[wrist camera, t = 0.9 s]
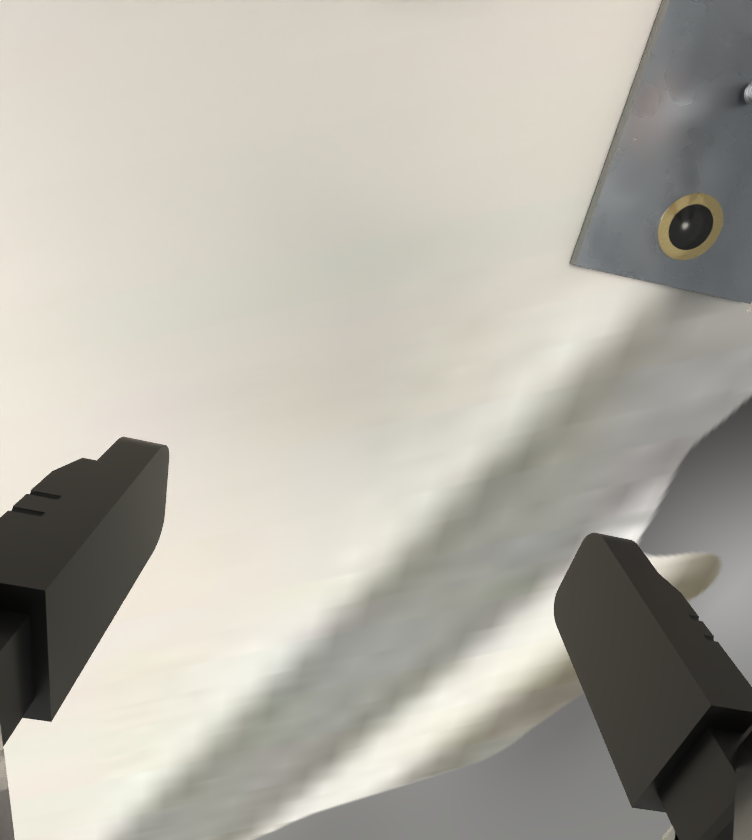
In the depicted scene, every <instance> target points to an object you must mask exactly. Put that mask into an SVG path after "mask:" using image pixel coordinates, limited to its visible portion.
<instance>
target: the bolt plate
mask: <svg viewBox="0 0 752 840" xmlns="http://www.w3.org/2000/svg"><path fill="white" fill-rule="evenodd" d="M751 82H752V0H662V3H661V5H660V8H659V11H658V14H657V17H656V20H655V23H654V25H653V28H652V31H651V34H650V37H649V40H648V42H647V45H646V48H645V51H644V54H643V57H642V59H641V62H640V65H639V68H638V71H637V74H636V76H635V79H634V82H633V85H632V88H631V91H630V93H629V96H628V99H627V102H626V105H625V108H624V111H623V113H622V116H621V119H620V122H619V125H618V128H617V130H616V133H615V136H614V139H613V142H612V145H611V147H610V150H609V153H608V156H607V159H606V162H605V164H604V167H603V170H602V173H601V176H600V179H599V181H598V184H597V187H596V190H595V193H594V196H593V198H592V201H591V204H590V207H589V210H588V213H587V216H586V218H585V221H584V224H583V227H582V230H581V233H580V235H579V238H578V241H577V244H576V247H575V250H574V252H573V255H572V258H571V261H570V264H573V265H575V266H579V267H584V268H589V269H593V270H598V271H602V272H607V273H611V274H616V275H621V276H625V277H630V278H634V279H639V280H644V281H648V282H653V283H657V284H662V285H666V286H671V287H676V288H680V289H685V290H689V291H694V292H699V293H703V294H708V295H712V296H717V297H721V298H726V299H731V300H735V301H740V302H744V303H749V304H750V306H749V308H748V310H747V312H750V313H752V105H750V104H748V103H747V102H746V101H745V98H744V93H745V90H746V88H747V86H748V85H749V83H751Z"/></svg>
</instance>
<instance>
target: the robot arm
mask: <svg viewBox="0 0 752 840" xmlns="http://www.w3.org/2000/svg"><path fill="white" fill-rule="evenodd" d="M168 465H169V449H168V447H167V446H166V445H162V444H157V443H152V442H147V441H142V440H137V439H132V438H127V437H121V438H119V439H118V440H117V441H116V442H115V443H114V444H113V445H112V446H111V447H110V448H109V449H108V450H107V451H106V452H105V453H104V454H103V455H102V456H101V457H100V458H99V459H98V460H97V461H96V460H91V459H85V458H81V459H79V460H77V461H74V462H72V463H70V464H68V465H65V466H63V467H61V468H58V469H56V470H54V471H52V472H51V473H50V474H49V475H47V476H46V477H45V478H44V479H43V480H42V481H41V482H40V483H39V484H37V485H36V486H35V487H34V488H33V489H32V490H31V493H30V495H29V494H26V495H25V496H24V497H23V498H22V499H21V500H20V501H18V502H17V503H16V504H15V505H14V506H13V509H12V511H7V512H6V513H5V514H4V515H3V516H2V517H0V840H15V839H14V830H13V822H12V814H11V806H10V797H9V789H8V781H7V772H6V764H5V756H4V750H3V746H4V745H5V743H6V742H7V740H8V739H9V737H10V736H11V734H12V733H13V731H14V730H15V728H16V726H17V725H18V723H19V722H20V720H21V719H22V718H29V719H36V720H43V721H50V722H51V721H52V720H53V718H54V716H55V715H56V713H57V711H58V710H59V708H60V706H61V705H62V703H63V701H64V700H65V698H66V696H67V695H68V693H69V691H70V690H71V688H72V686H73V685H74V683H75V681H76V680H77V678H78V676H79V675H80V673H81V671H82V670H83V668H84V666H85V665H86V663H87V661H88V660H89V658H90V656H91V655H92V653H93V651H94V650H95V648H96V646H97V645H98V643H99V641H100V640H101V638H102V636H103V635H104V633H105V631H106V630H107V628H108V626H109V625H110V623H111V621H112V620H113V618H114V616H115V615H116V613H117V611H118V610H119V608H120V606H121V605H122V603H123V601H124V600H125V598H126V596H127V595H128V593H129V591H130V590H131V588H132V586H133V585H134V583H135V581H136V580H137V578H138V576H139V575H140V573H141V571H142V570H143V568H144V566H145V565H146V563H147V561H148V560H149V558H150V556H151V555H152V553H153V551H154V549H155V547H156V545H157V543H158V540H159V537H160V534H161V531H162V527H163V523H164V516H165V504H166V491H167V478H168ZM554 617H555V622H556V625H557V628H558V630H559V633H560V635H561V638H562V640H563V642H564V645H565V647H566V650H567V652H568V654H569V657H570V659H571V662H572V664H573V666H574V669H575V671H576V674H577V676H578V679H579V681H580V683H581V686H582V688H583V691H584V693H585V695H586V698H587V700H588V703H589V705H590V707H591V710H592V712H593V715H594V717H595V719H596V722H597V724H598V727H599V729H600V732H601V734H602V736H603V739H604V741H605V744H606V746H607V748H608V751H609V753H610V756H611V758H612V760H613V763H614V765H615V768H616V770H617V773H618V775H619V777H620V780H621V782H622V785H623V787H624V789H625V792H626V794H627V797H628V799H629V801H630V804H631V806H632V808H639V809H646V810H653V811H660V812H666V813H667V815H668V817H669V820H670V822H671V824H672V825H671V826H670V827H669V828H668V830H667V831H666V832H665V834H664V836H663V837H662V840H752V687H751V685H750V684H749V683H748V681H747V680H746V679H745V678H744V676H743V675H742V673H741V672H740V671H739V670H738V668H737V667H736V666H735V664H734V663H733V661H732V660H731V659H730V658H729V656H728V655H727V653H726V652H725V651H724V650H723V648H722V647H721V646H720V644H719V643H718V642H715V641H714V640H713V638H714V636H713V635H712V634H711V632H710V631H709V630H708V628H707V627H706V626H705V624H704V623H703V622H702V621H699V620H698V618H699V616H698V615H697V614H696V612H695V611H694V610H693V608H692V607H691V606H690V604H689V603H688V602H687V600H686V599H685V598H684V596H683V595H682V594H681V593H680V592H679V591H678V590H677V589H676V588H675V587H673V586H672V585H671V584H670V583H669V582H668V581H667V580H665V579H664V578H663V577H662V576H661V575H660V574H659V573H658V572H657V571H656V569H655V568H654V567H653V565H652V564H651V562H650V561H649V560H648V558H647V557H646V556H645V554H644V553H643V552H642V550H641V549H640V547H639V546H638V545H637V544H636V543H635V542H634V541H632V540H628V539H623V538H618V537H613V536H608V535H603V534H598V533H591V534H589V535H588V536H586V537H585V539H584V540H583V542H582V544H581V546H580V548H579V549H578V551H577V553H576V555H575V557H574V559H573V561H572V563H571V565H570V567H569V569H568V571H567V573H566V575H565V577H564V579H563V581H562V583H561V585H560V587H559V589H558V591H557V593H556V596H555V602H554Z"/></svg>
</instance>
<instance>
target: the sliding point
mask: <svg viewBox="0 0 752 840" xmlns="http://www.w3.org/2000/svg"><path fill="white" fill-rule="evenodd" d="M744 98H745V101H746V102H747V103H748V104H750V105H752V82H751V83H749V85H748V86H747V88H746V90H745V93H744Z"/></svg>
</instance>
